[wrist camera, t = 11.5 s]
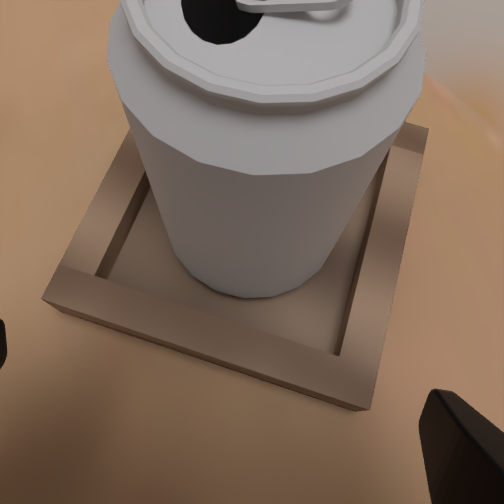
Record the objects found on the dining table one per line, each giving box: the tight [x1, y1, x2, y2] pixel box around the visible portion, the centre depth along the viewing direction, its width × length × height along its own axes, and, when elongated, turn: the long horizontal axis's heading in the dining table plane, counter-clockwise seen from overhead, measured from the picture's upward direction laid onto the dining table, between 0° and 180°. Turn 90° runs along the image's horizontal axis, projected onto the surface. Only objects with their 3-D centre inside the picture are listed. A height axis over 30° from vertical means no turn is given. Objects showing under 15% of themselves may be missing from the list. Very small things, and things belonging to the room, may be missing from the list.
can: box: [107, 0, 426, 298], centre depth 14 cm, size 8×8×12 cm
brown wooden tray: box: [41, 122, 429, 412], centre depth 20 cm, size 13×13×2 cm
